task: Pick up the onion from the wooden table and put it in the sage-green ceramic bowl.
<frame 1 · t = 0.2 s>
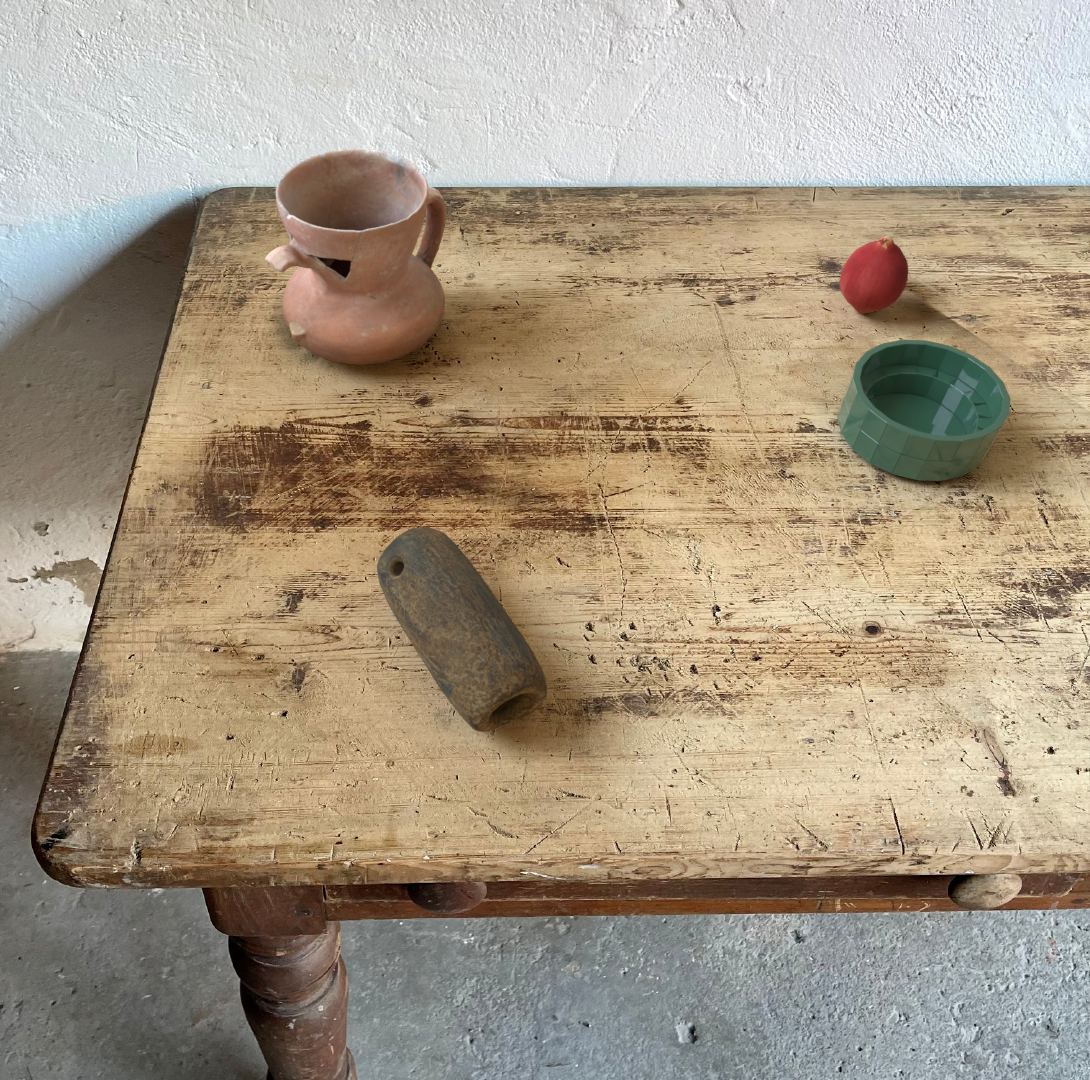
ceramic jug: (371, 330, 92), on the table
bowl: (909, 433, 84), on the table
stone weight: (458, 656, 70), on the table
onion: (860, 313, 94), on the table
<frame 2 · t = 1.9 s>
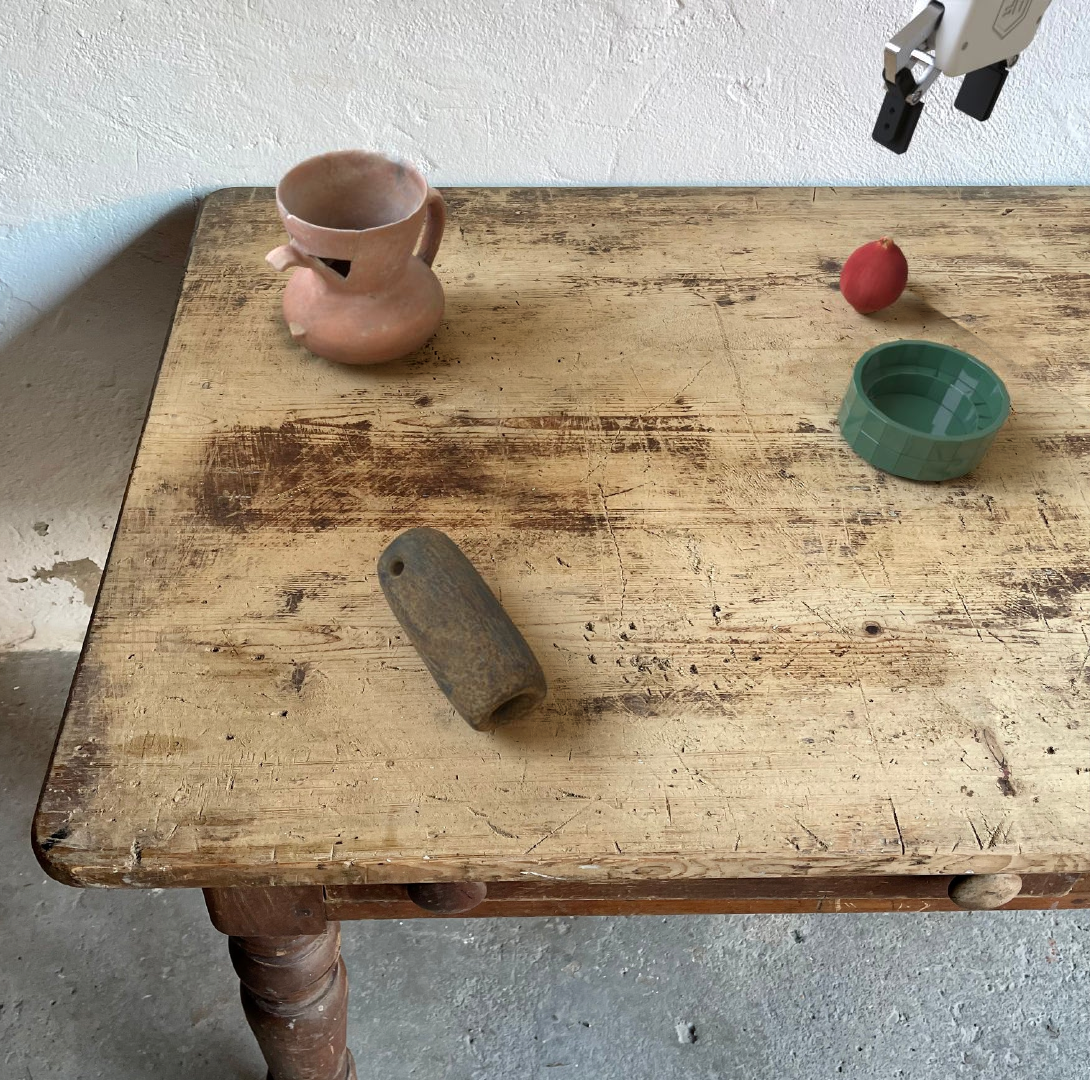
hand: (929, 129, 80), 18 cm above the table, tool pointing down, fingers open, 9 cm apart
nothing on the table moved.
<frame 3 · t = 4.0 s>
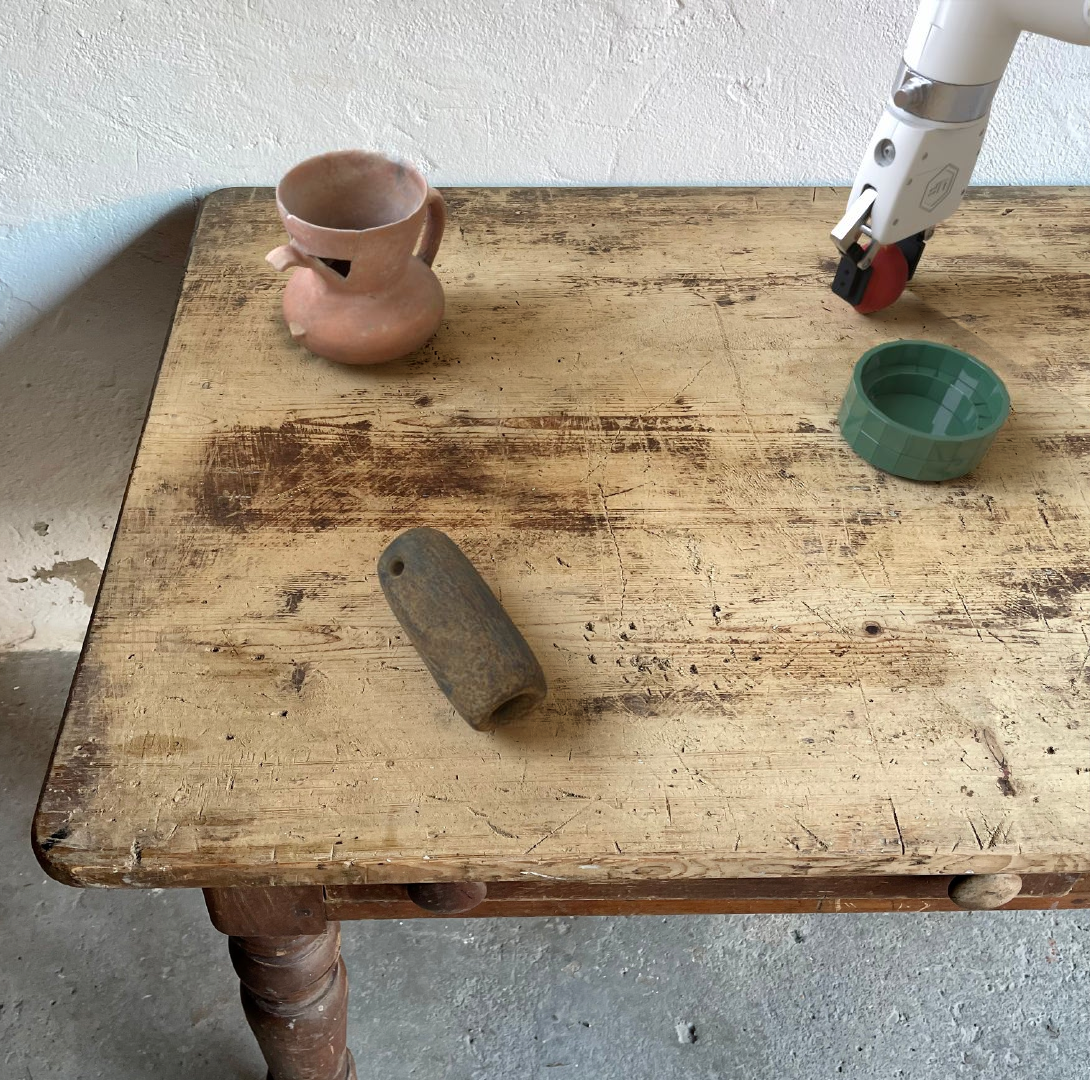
hand: (871, 284, 92), 3 cm above the table, tool pointing down, fingers closed on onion, 5 cm apart
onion: (860, 313, 94), on the table, touching gripper
everything else where it was.
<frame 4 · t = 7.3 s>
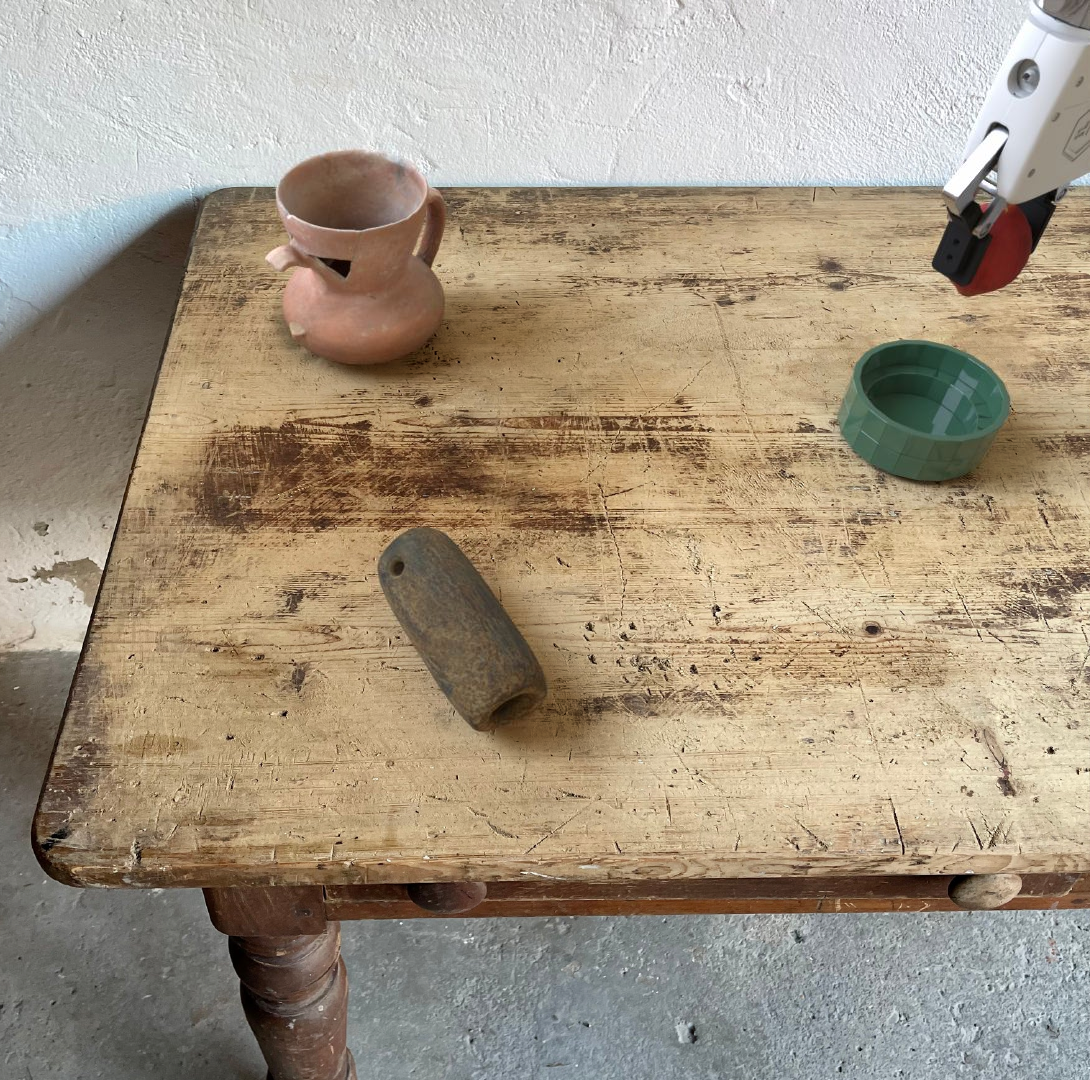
hand: (982, 259, 72), 16 cm above the table, tool pointing down, fingers closed on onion, 5 cm apart
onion: (964, 296, 75), point 13 cm above the table, touching gripper
everything else where it was.
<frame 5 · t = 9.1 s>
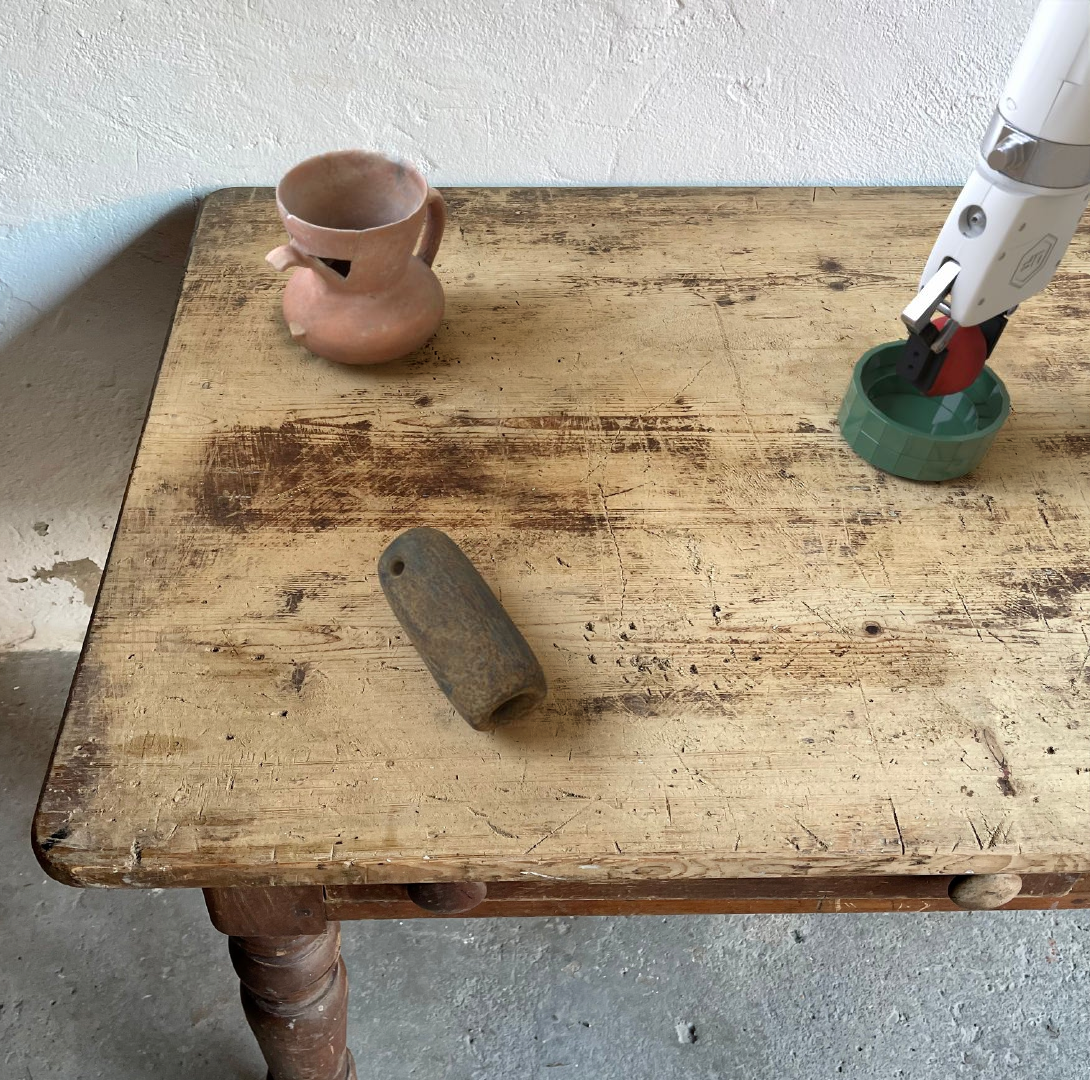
hand: (941, 364, 78), 7 cm above the table, tool pointing down, fingers closed on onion, 5 cm apart
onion: (926, 395, 81), point 4 cm above the table, touching gripper
everything else where it was.
when the fingers open (4 cm above the table, at t = 11.1 s): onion stays where it is, resting on bowl.
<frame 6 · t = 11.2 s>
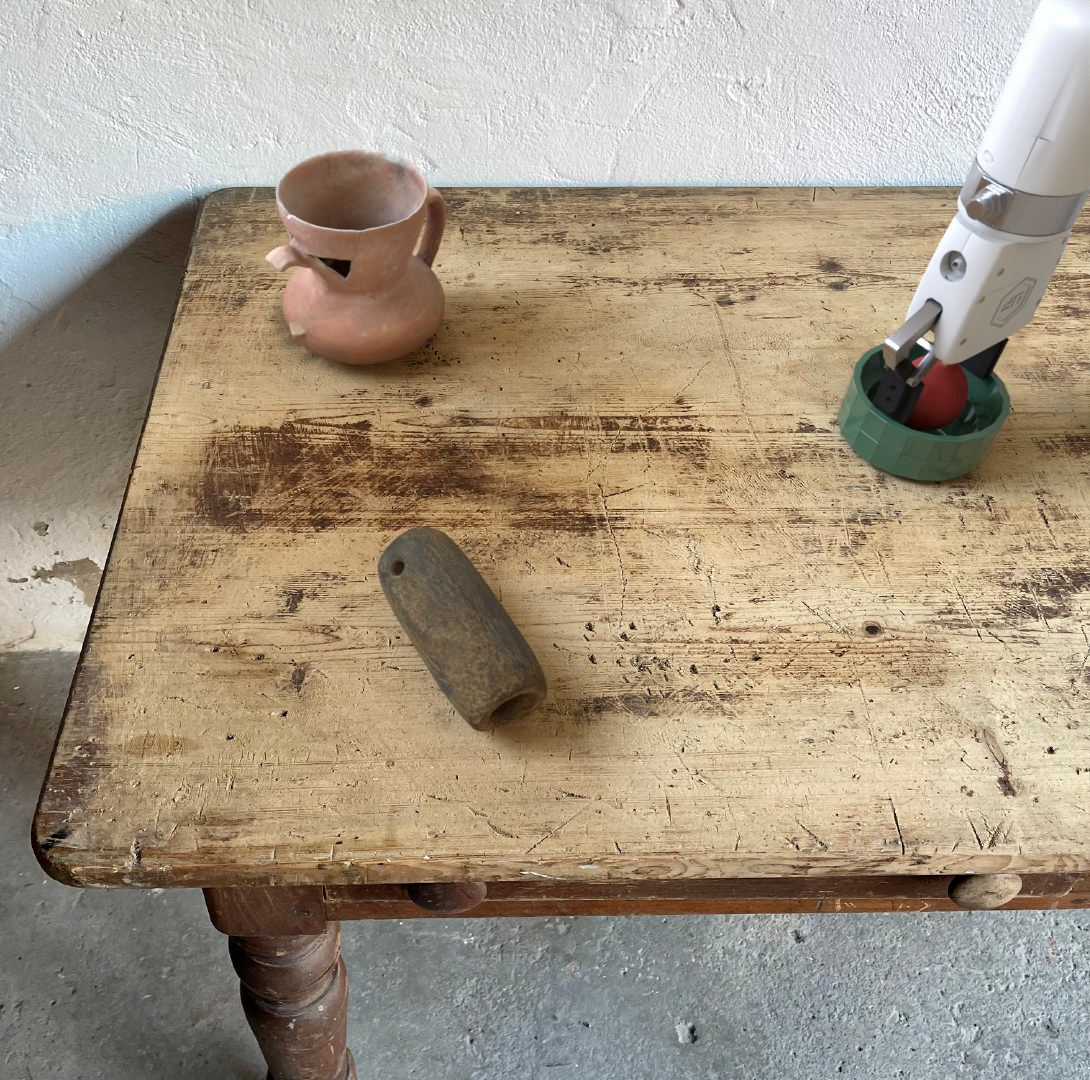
hand: (931, 390, 80), 5 cm above the table, tool pointing down, fingers open, 9 cm apart
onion: (911, 429, 84), resting on bowl
everything else where it was.
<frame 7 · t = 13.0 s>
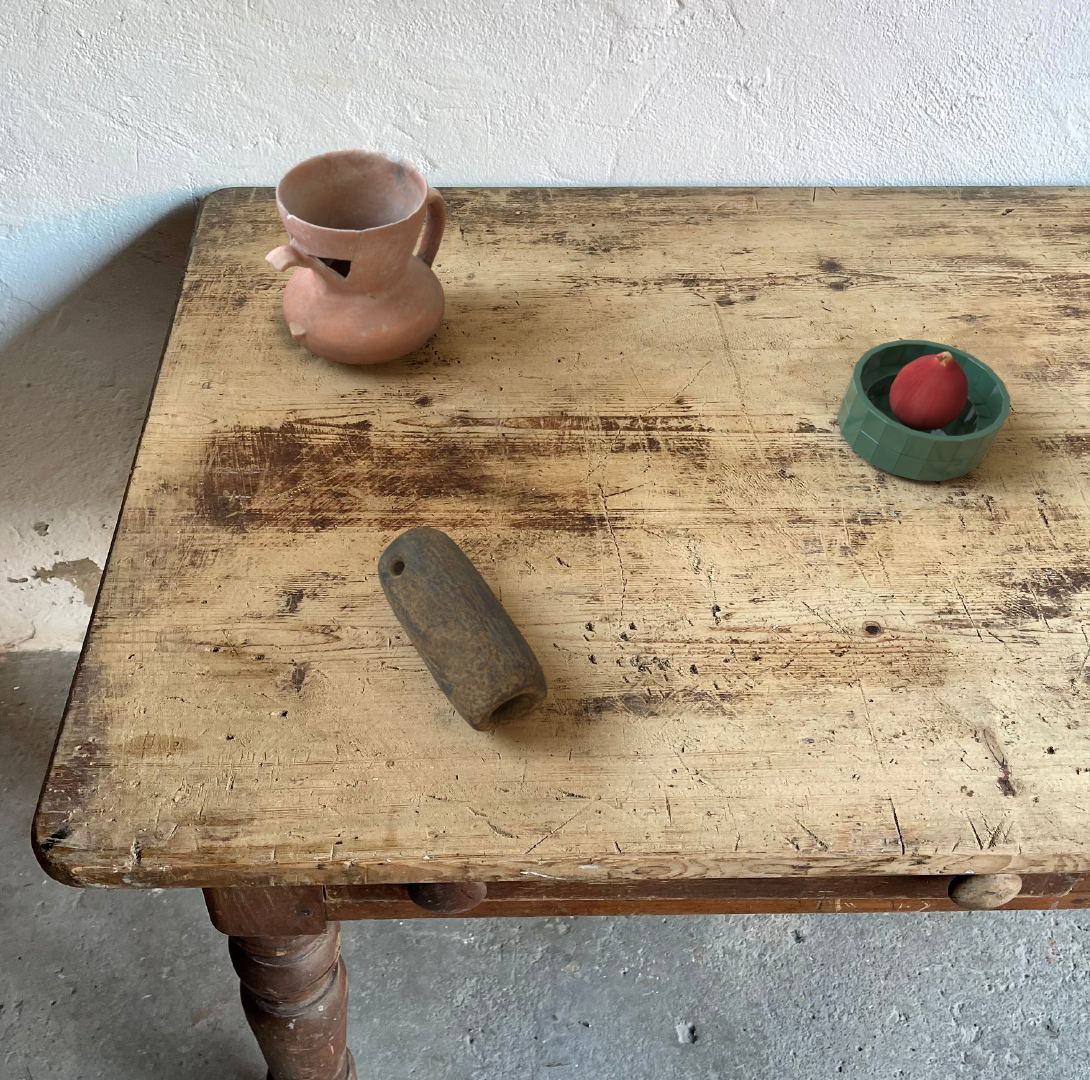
nothing on the table moved.
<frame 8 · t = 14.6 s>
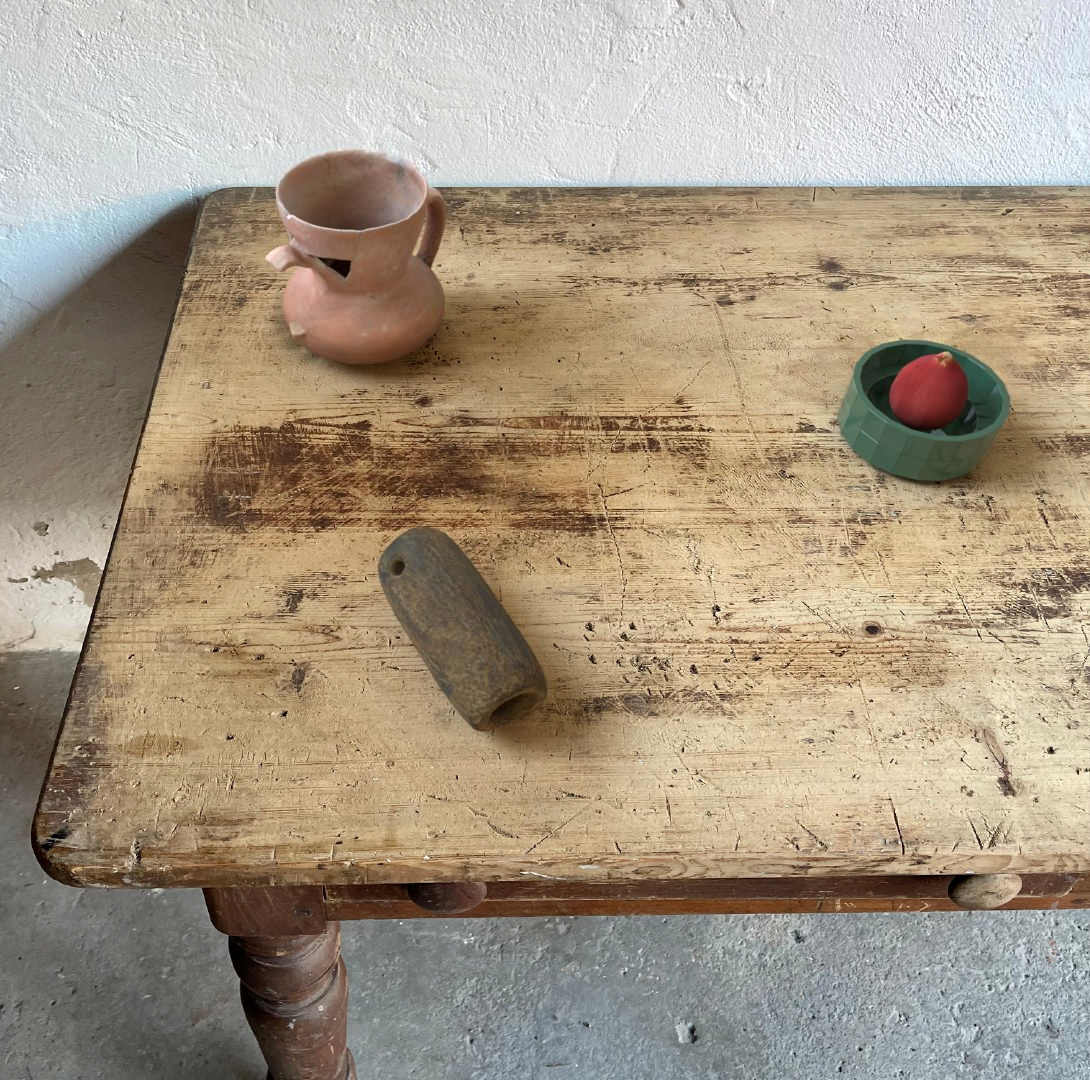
nothing on the table moved.
at the end: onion inside the target area in the bowl (0.1 cm from its centre), point 0.4 cm above the bowl's base; the gripper is holding nothing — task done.
